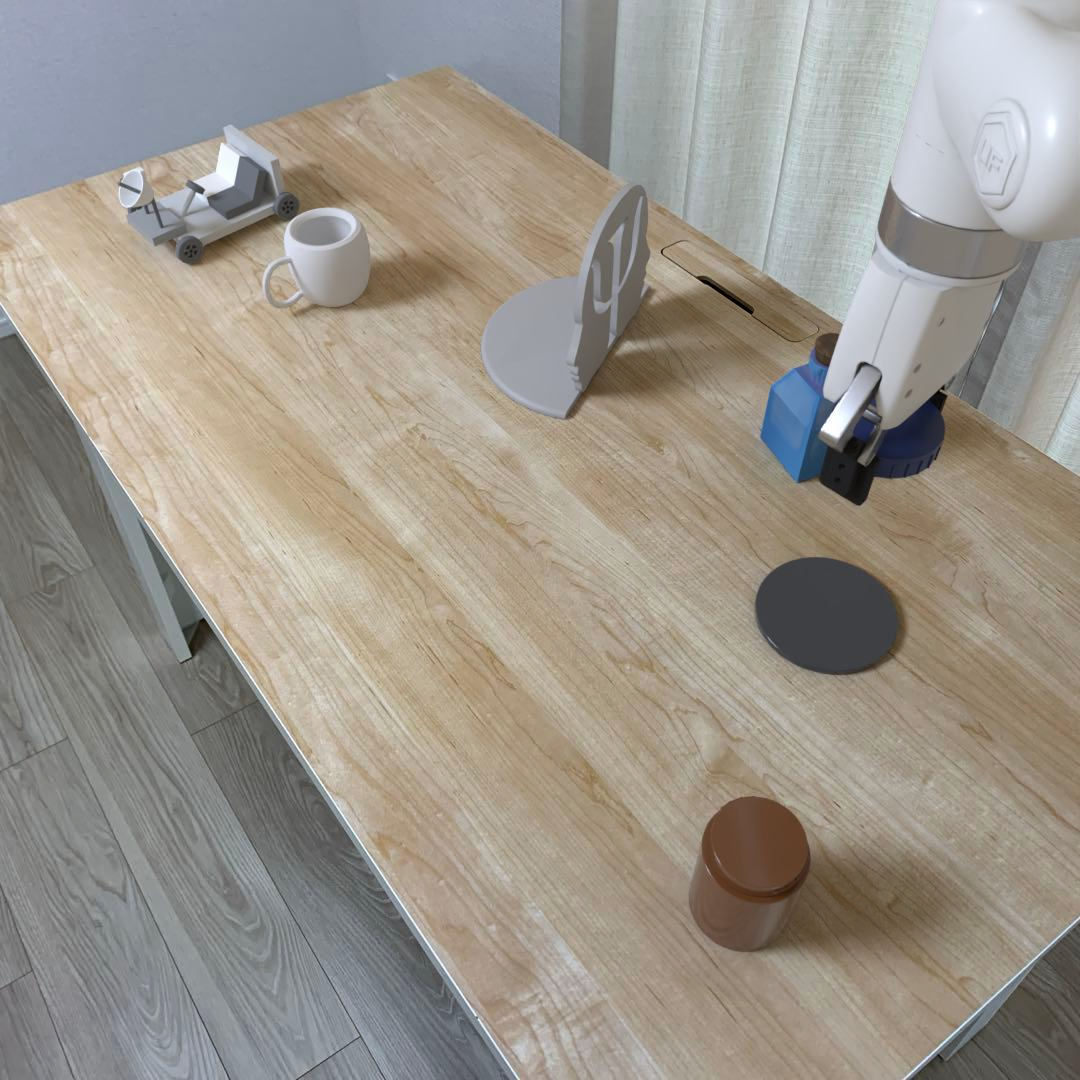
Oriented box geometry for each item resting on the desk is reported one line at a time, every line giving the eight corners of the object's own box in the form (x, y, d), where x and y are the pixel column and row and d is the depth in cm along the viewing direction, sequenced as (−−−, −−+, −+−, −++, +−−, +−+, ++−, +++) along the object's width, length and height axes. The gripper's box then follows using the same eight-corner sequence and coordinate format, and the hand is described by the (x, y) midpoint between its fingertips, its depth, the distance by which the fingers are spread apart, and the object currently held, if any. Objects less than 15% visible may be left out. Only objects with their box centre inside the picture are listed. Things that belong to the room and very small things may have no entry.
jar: (809, 912, 67) (838, 852, 60) (735, 972, 65) (756, 917, 58) (741, 836, 71) (762, 770, 64) (668, 890, 68) (681, 829, 61)
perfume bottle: (760, 437, 95) (781, 332, 86) (818, 418, 97) (845, 313, 88) (796, 482, 92) (823, 378, 82) (856, 462, 93) (889, 357, 84)
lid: (802, 429, 67) (807, 409, 66) (881, 387, 69) (887, 367, 68) (882, 496, 63) (889, 477, 62) (962, 449, 66) (970, 430, 64)
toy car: (132, 197, 105) (80, 152, 110) (161, 279, 112) (110, 233, 118) (284, 133, 112) (228, 94, 118) (302, 214, 120) (248, 174, 125)
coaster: (926, 628, 82) (928, 623, 81) (825, 699, 78) (827, 695, 77) (824, 540, 87) (825, 536, 87) (725, 603, 83) (726, 598, 83)
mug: (349, 258, 114) (337, 193, 108) (391, 295, 110) (382, 230, 104) (251, 301, 109) (233, 236, 103) (291, 342, 105) (275, 276, 99)
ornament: (566, 421, 97) (567, 270, 84) (441, 382, 101) (424, 231, 88) (652, 288, 110) (665, 139, 97) (538, 258, 113) (536, 110, 101)
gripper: (976, 130, 60) (898, 369, 73) (796, 264, 52) (746, 503, 66) (1102, 180, 56) (995, 421, 70) (930, 331, 48) (848, 568, 62)
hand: (875, 459), depth 68 cm, fingers closed on lid, 6 cm apart
